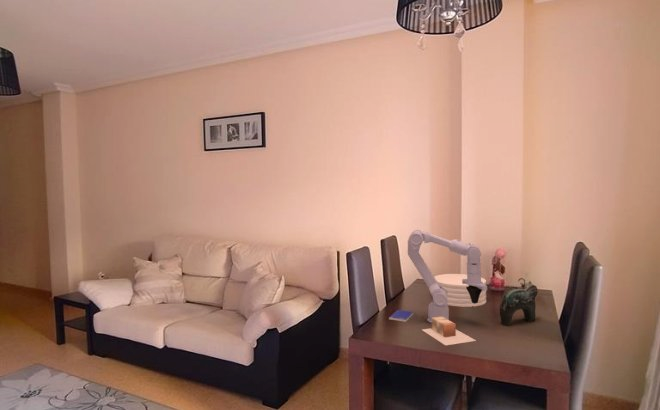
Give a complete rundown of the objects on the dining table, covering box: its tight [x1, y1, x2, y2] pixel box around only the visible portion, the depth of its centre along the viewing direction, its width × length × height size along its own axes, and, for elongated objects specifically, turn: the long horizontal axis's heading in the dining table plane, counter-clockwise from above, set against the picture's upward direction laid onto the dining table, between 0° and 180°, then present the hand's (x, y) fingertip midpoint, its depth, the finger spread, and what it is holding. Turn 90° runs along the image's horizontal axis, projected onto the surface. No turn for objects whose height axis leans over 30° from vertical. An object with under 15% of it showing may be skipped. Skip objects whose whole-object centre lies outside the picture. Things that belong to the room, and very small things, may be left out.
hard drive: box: [388, 309, 414, 322], centre depth 183 cm, size 2×8×12 cm
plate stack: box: [433, 273, 487, 308], centre depth 210 cm, size 28×28×12 cm
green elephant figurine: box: [499, 277, 538, 327], centre depth 171 cm, size 20×6×20 cm, turn 111°
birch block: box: [431, 316, 457, 337], centre depth 159 cm, size 5×5×10 cm
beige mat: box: [422, 327, 477, 346], centre depth 157 cm, size 18×14×1 cm
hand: (474, 302), depth 168 cm, fingers closed
